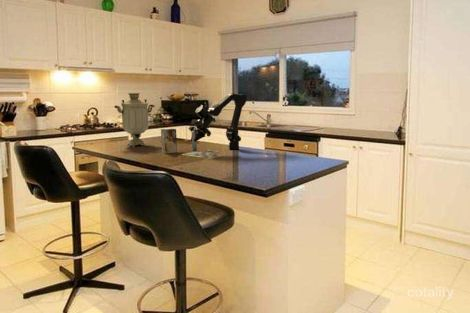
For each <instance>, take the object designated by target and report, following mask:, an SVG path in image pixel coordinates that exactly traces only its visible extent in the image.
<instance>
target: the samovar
mask: <svg viewBox="0 0 470 313" xmlns="http://www.w3.org/2000/svg"><path fill="white" fill-rule="evenodd" d="M127 94H128V95H129V98H130V99H129V100H127V101H125V99H122V100H121V102H120V104H121V106H120V105H114V106H113V107H114V108H115V109H116V110H117V112H118V113H119V114H121V121H122V129H123V130H124V132H126V133H128V134H130V135H131V138H132V139H131V140H129V142H128V143H127V145H128V146H129V145H131V148H135V146H137V145H143V146H146V147H147V145H146V144H145V143H144V141H143V140H142V139H141V136H142V134H144V133H145V132H146V131H147V130H148V129H149V124H150V123H149V113H152V111H153V108H155V107H156V106H155V105H154V104H149V103H148V102H147V101H148V100H147V99H146V98H145V99H144V101H142V100H140V99H139V98H140V94H141V93H140V92H130V93H127ZM121 107H122V108H121ZM127 145H126V146H127Z"/></svg>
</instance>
